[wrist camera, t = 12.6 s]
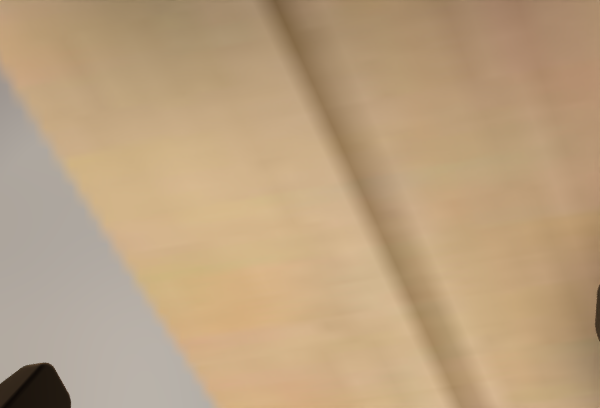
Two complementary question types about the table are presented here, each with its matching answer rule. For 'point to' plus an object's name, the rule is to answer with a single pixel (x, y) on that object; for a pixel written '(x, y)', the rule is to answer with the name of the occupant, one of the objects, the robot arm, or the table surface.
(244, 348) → the table surface
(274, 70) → the table surface
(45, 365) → the robot arm
